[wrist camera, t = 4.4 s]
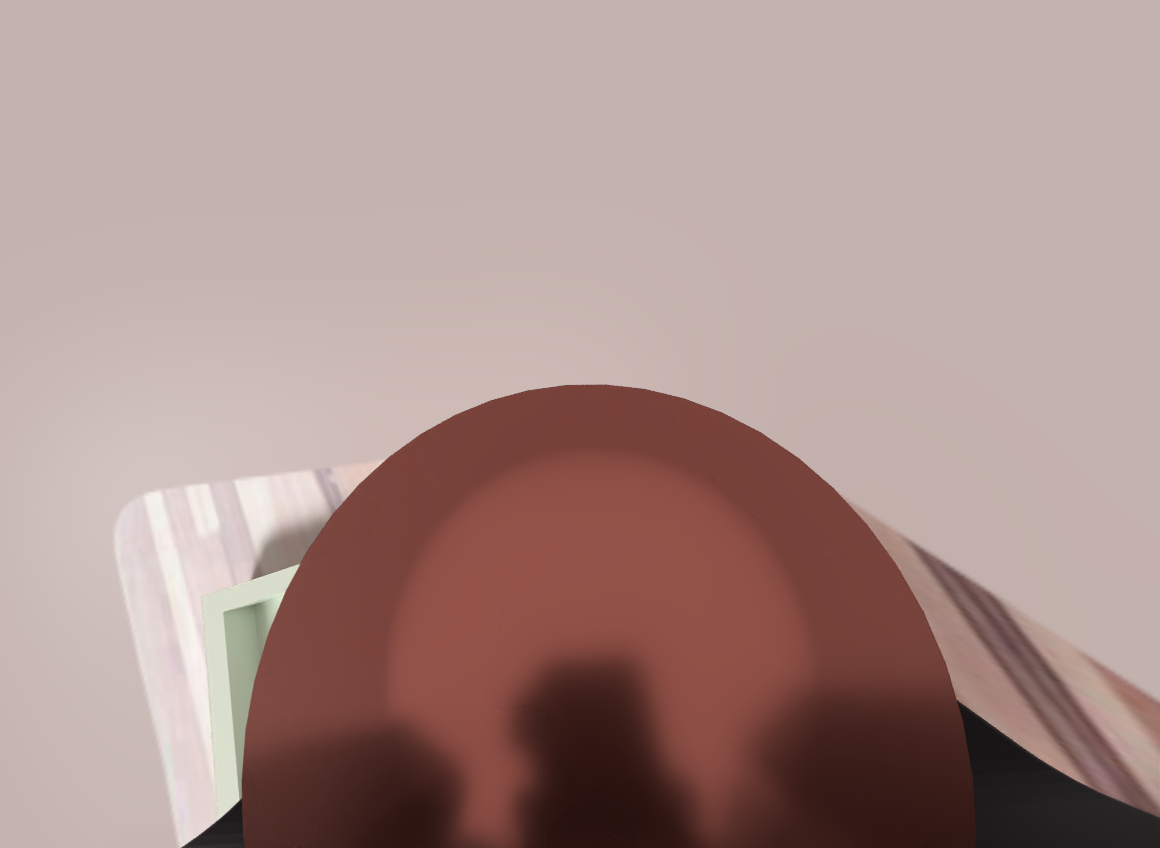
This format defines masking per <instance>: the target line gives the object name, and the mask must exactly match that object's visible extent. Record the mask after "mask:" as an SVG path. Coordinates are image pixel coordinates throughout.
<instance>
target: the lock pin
mask: <svg viewBox="0 0 1160 848" xmlns="http://www.w3.org/2000/svg"><path fill="white" fill-rule="evenodd" d="M242 815H243V838H244V846H245V848H976V823H975V806H974V789H973V776H972V770H971V764H970V759H969V753H968V748H967V742H966V737H965V731H964V725H963V720H962V716H961V713H960V709H959V706H958V703H957V699H956V696H955V693H954V689H953V686H952V683H951V680H950V676H949V673H948V670H947V666H946V663H945V661H944V658H943V656H942V654H941V651H940V649H939V647H938V644H937V642H936V640H935V637H934V635H933V633H932V631H931V628H930V626H929V624H928V621H927V619H926V617H925V614H924V612H923V610H922V608H921V607H920V605H919V603H918V601H917V600H916V598H915V596H914V594H913V593H912V591H911V589H910V587H909V586H908V584H907V582H906V580H905V579H904V577H903V575H902V573H901V572H900V570H899V568H898V566H897V565H896V564H895V562H894V561H893V559H892V558H891V557H890V555H889V554H888V553H887V551H886V550H885V549H884V547H883V546H882V544H881V543H880V542H879V540H878V539H877V538H876V536H875V535H874V533H873V532H872V531H871V529H870V528H869V527H868V525H867V524H866V523H865V522H864V521H863V520H862V519H861V517H860V516H859V515H858V514H857V513H856V512H855V511H854V510H853V509H852V508H851V507H850V506H849V504H848V503H847V502H846V501H845V500H844V499H843V498H842V497H841V496H840V495H839V494H838V493H837V491H836V490H835V489H834V488H833V487H831V486H830V485H829V484H828V483H827V482H826V481H824V480H823V479H822V478H821V477H820V476H819V475H818V474H816V473H815V472H814V471H813V470H812V469H810V468H809V467H808V466H807V465H806V464H805V463H803V462H802V461H801V460H800V459H799V458H797V457H796V456H795V455H793V454H792V453H790V452H789V451H787V450H786V449H784V448H783V447H781V446H780V445H778V444H777V443H775V442H774V441H772V440H771V439H770V438H768V437H767V436H765V435H764V434H762V433H761V432H759V431H757V430H755V429H753V428H751V427H749V426H747V425H745V424H743V423H741V422H739V421H737V420H735V419H734V418H732V417H730V416H728V415H726V414H724V413H722V412H719V411H716V410H714V409H711V408H708V407H705V406H703V405H700V404H697V403H695V402H692V401H689V400H687V399H684V398H680V397H676V396H672V395H667V394H663V393H659V392H655V391H651V390H646V389H639V388H631V387H622V386H612V385H564V386H557V387H550V388H542V389H535V390H528V391H524V392H521V393H517V394H513V395H510V396H506V397H502V398H498V399H495V400H491V401H488V402H486V403H484V404H481V405H479V406H476V407H474V408H471V409H469V410H466V411H464V412H461V413H459V414H457V415H455V416H452V417H451V418H449V419H447V420H445V421H443V422H442V423H440V424H438V425H436V426H435V427H433V428H431V429H429V430H427V431H425V432H424V433H422V434H420V435H419V436H418V437H416V438H415V439H413V440H412V441H411V442H409V443H408V444H406V445H405V446H404V447H402V448H401V449H400V450H398V451H397V452H395V453H394V454H393V455H391V456H390V457H389V458H387V459H386V460H385V461H384V462H383V463H382V464H381V465H380V466H379V467H378V468H377V469H375V470H374V471H373V472H372V473H371V474H370V475H369V476H368V477H367V478H366V479H365V480H363V481H362V482H361V483H360V484H359V485H358V486H357V487H356V489H355V490H354V491H353V492H352V493H351V494H350V495H349V497H348V498H347V499H346V500H345V501H344V502H343V504H342V505H341V506H340V507H339V508H338V509H337V510H336V512H335V513H334V514H333V515H332V516H331V518H330V519H329V521H328V522H327V523H326V525H325V526H324V528H323V529H322V531H321V532H320V534H319V535H318V536H317V538H316V539H315V541H314V542H313V544H312V545H311V547H310V548H309V549H308V551H307V552H306V554H305V556H304V558H303V560H302V562H301V564H300V565H299V567H298V569H297V571H296V573H295V575H294V576H293V578H292V580H291V582H290V584H289V586H288V588H287V589H286V591H285V594H284V596H283V599H282V601H281V603H280V606H279V608H278V611H277V613H276V616H275V618H274V621H273V623H272V625H271V628H270V630H269V633H268V636H267V639H266V642H265V646H264V649H263V653H262V656H261V659H260V663H259V666H258V670H257V673H256V677H255V680H254V685H253V691H252V696H251V702H250V707H249V713H248V718H247V724H246V729H245V742H244V755H243V768H242Z"/></svg>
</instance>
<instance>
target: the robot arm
mask: <svg viewBox="0 0 1160 848" xmlns="http://www.w3.org/2000/svg"><path fill="white" fill-rule="evenodd" d="M957 703H958V706H959V709H960V713H961V716H962V720H963V725H964V731H965V737H966V742H967V748H968V753H969V759H970V764H971V770H972V776H973V789H974V806H975V823H976V848H1160V817H1157V816H1155V815H1153V814H1150V813H1148V812H1145V811H1143V810H1140V809H1138V808H1136V807H1133V806H1131V805H1128V804H1126V803H1124V802H1121V801H1119V800H1116V799H1114V798H1112V797H1109V796H1107V795H1105V794H1102V793H1100V792H1098V791H1096V790H1094V789H1092V788H1090V787H1088V786H1086V785H1084V784H1082V783H1080V782H1078V781H1076V780H1074V779H1072V778H1071V777H1069V776H1067V775H1065V774H1064V773H1062V772H1060V771H1058V770H1056V769H1055V768H1053V767H1052V766H1050V765H1048V764H1047V763H1045V762H1044V761H1042V760H1040V759H1039V758H1037V757H1036V756H1034V755H1033V754H1031V753H1030V752H1028V751H1027V750H1026V749H1024V748H1023V747H1021V746H1020V745H1018V744H1017V743H1016V742H1014V741H1013V740H1011V739H1010V738H1009V737H1007V736H1006V735H1004V734H1003V733H1002V732H1000V731H999V730H998V729H996V728H995V727H993V726H992V725H991V724H989V723H988V722H987V721H985V720H984V719H982V718H981V717H980V716H978V715H977V714H976V713H974V712H973V711H971V710H970V709H969V708H967V707H966V706H964V705H963V704H962V703H960V702H959V701H958V700H957ZM181 848H245V846H244V838H243V815H242V798H241V799H240V800H239V801H238V802H237V803H236V804H235V805H234V806H233V807H232V808H231V809H230V810H229V811H228V812H226V813H225V814H224V815H223V816H222V817H221V818H220V819H219V820H217V821H216V822H215V823H214V824H213V825H211V826H210V827H209V828H208V829H206V830H205V831H204V832H202V833H201V834H200V835H199V836H197V837H196V838H194V839H193V840H192V841H190V842H189V843H187V844H186V845H184V846H183V847H181Z"/></svg>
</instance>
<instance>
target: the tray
mask: <svg viewBox="0 0 1160 848" xmlns="http://www.w3.org/2000/svg"><path fill="white" fill-rule="evenodd" d="M299 565H300V564H298V565H295V566H292V567H289V568H286V569H283V570H280V571H277V572H274V573H271V574H268V575H265V576H262V577H259V578H256V579H253V580H250V581H247V582H244V583H241V584H238V585H235V586H232V587H229V588H226V589H223V590H220V591H217V592H214V593H211V594H208V595H205V596H202V597H201V599H202V613H203V626H204V640H205V653H206V667H207V680H208V694H209V707H210V721H211V734H212V748H213V761H214V775H215V788H216V802H217V815H218V820H219V819H220V818H221V817H222V816H223V815H224V814H225V813H226V812H228V811H229V810H230V809H231V808H232V807H233V806H234V805H235V804H236V803H237V802H238V801H239V800H240V799H241V798H242V768H243V755H244V742H245V729H246V724H247V718H248V713H249V707H250V702H251V696H252V691H253V685H254V680H255V677H256V673H257V670H258V666H259V663H260V659H261V656H262V653H263V649H264V646H265V642H266V639H267V636H268V633H269V630H270V628H271V625H272V623H273V621H274V618H275V616H276V613H277V611H278V608H279V606H280V603H281V601H282V599H283V596H284V594H285V591H286V589H287V588H288V586H289V584H290V582H291V580H292V578H293V576H294V575H295V573H296V571H297V569H298V567H299Z"/></svg>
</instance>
